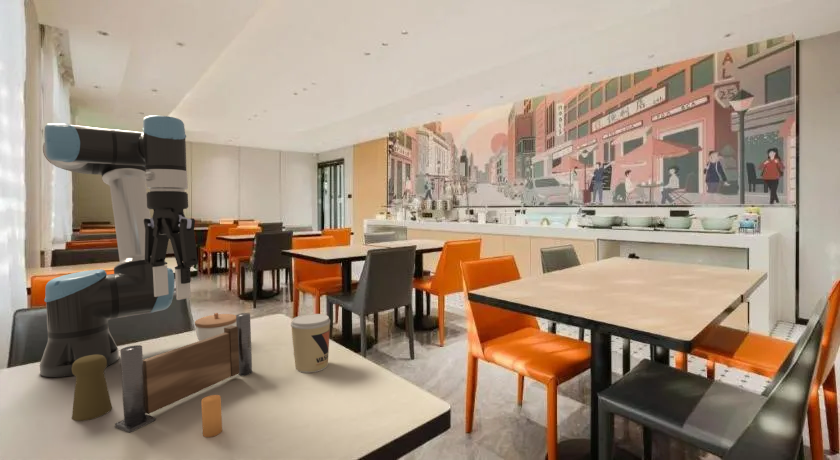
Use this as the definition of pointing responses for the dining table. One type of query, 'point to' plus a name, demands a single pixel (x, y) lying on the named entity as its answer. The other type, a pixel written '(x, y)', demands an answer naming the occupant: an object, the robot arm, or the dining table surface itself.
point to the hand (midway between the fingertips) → (172, 296)
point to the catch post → (211, 415)
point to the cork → (90, 388)
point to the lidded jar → (213, 325)
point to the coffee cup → (310, 342)
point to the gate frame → (135, 376)
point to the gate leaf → (190, 369)
